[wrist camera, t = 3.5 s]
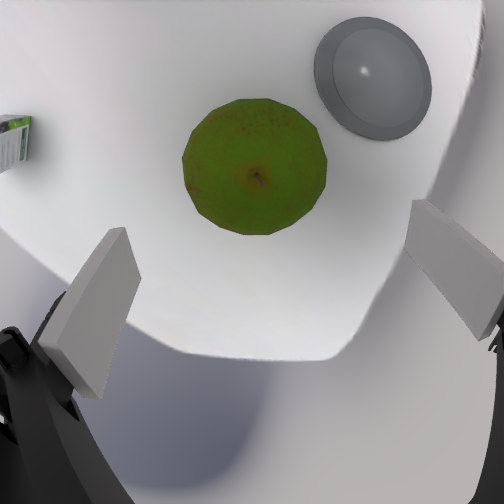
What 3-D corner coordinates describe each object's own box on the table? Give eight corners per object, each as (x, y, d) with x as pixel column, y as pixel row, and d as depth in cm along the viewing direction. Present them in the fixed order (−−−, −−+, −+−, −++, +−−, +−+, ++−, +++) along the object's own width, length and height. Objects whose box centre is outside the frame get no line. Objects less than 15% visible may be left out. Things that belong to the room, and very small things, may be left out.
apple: (304, 99, 24) (348, 104, 15) (300, 199, 30) (333, 251, 21) (190, 101, 24) (166, 104, 14) (197, 203, 29) (183, 258, 20)
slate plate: (316, 137, 26) (321, 139, 25) (308, 11, 19) (312, 7, 18) (424, 142, 27) (431, 144, 26) (422, 33, 19) (429, 32, 18)
